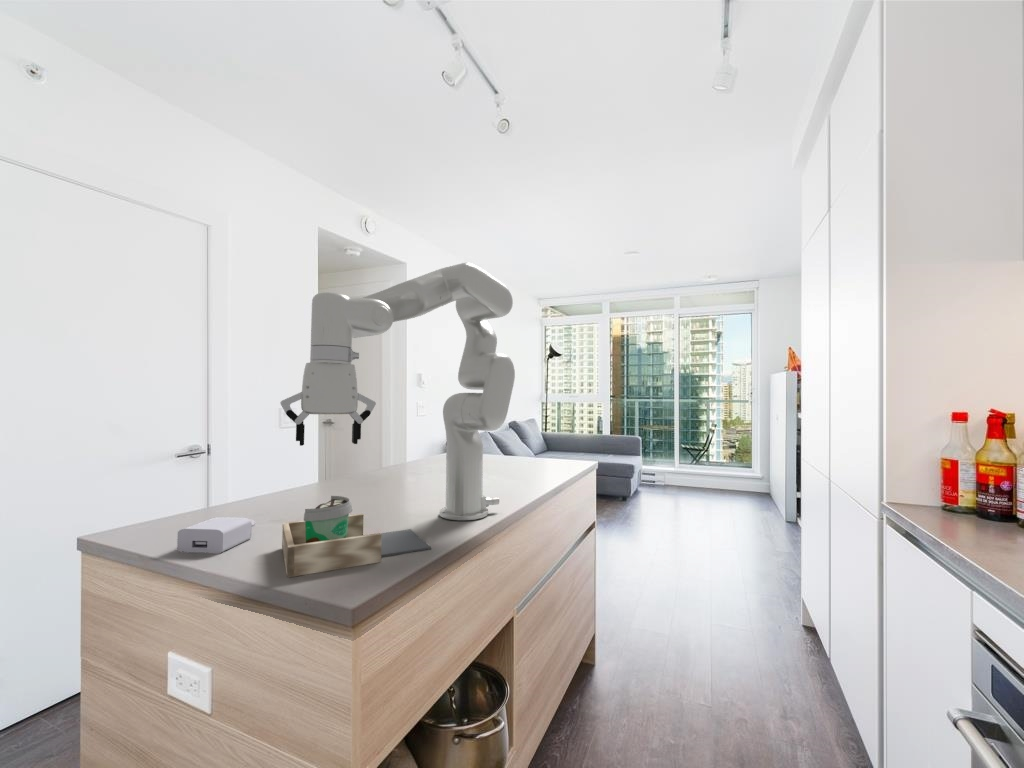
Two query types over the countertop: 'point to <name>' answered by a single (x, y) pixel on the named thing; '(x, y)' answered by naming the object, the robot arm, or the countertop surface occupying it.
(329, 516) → the food container
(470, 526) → the countertop surface
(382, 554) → the mat
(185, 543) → the charger
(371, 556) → the open box
